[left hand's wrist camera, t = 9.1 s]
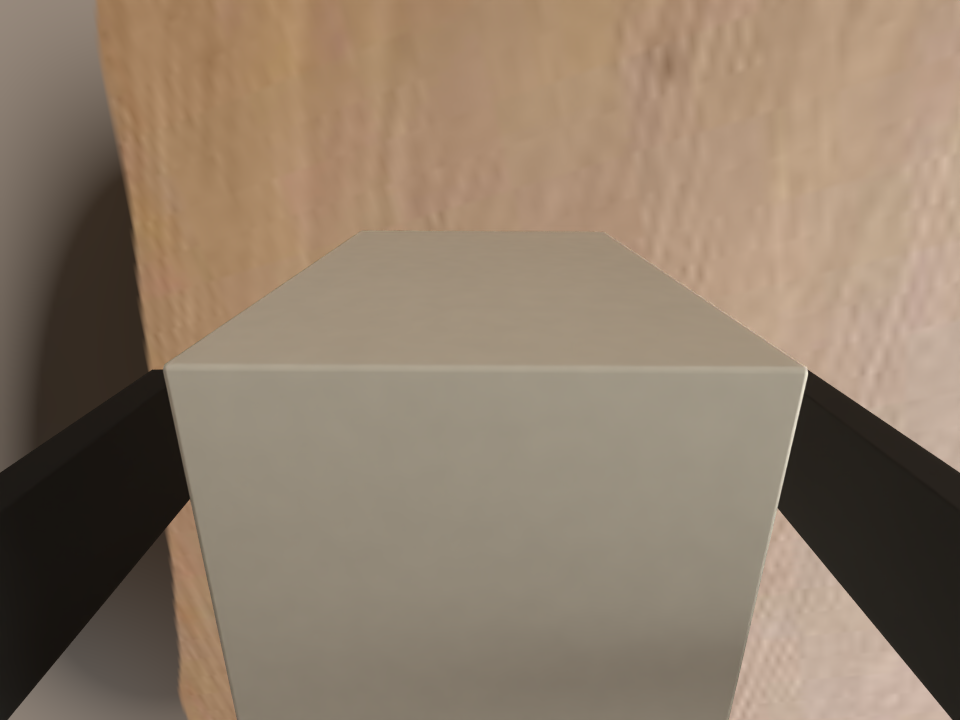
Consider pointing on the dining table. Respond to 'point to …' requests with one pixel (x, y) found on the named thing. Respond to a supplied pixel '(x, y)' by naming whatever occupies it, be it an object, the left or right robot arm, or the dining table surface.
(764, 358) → the box
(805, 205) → the dining table surface
